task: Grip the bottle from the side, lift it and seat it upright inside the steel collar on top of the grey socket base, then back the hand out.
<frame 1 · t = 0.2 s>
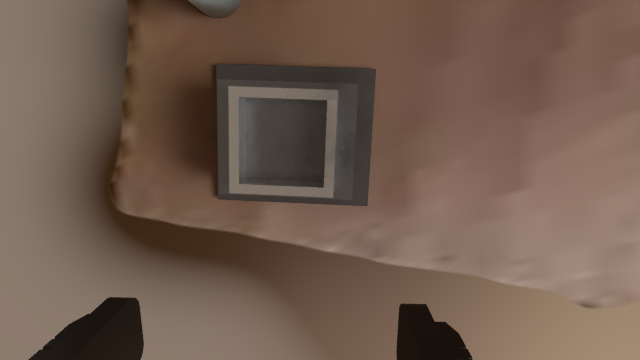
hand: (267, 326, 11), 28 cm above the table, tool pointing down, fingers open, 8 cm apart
grey socket base: (294, 136, 38), on the table
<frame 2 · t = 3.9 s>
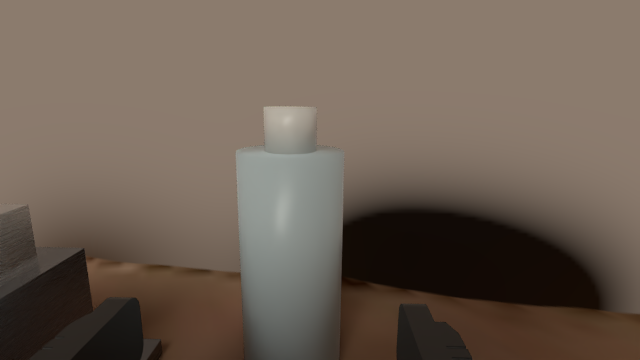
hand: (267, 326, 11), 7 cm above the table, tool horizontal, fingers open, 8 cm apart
bottle: (292, 356, 19), on the table
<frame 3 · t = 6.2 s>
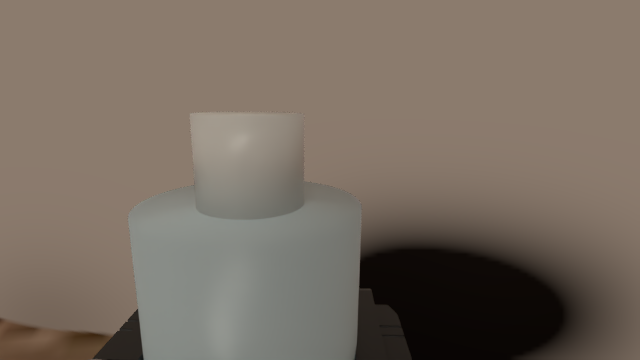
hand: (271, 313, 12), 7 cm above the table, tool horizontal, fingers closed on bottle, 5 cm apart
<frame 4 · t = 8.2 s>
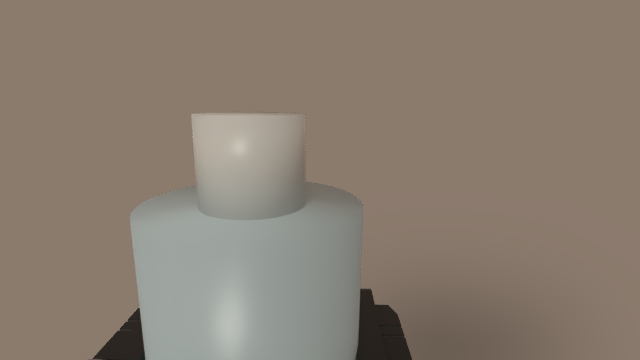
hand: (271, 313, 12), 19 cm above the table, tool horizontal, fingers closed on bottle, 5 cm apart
when the fingers open (15 cm above the table, at t = 10.2 s): bottle drops 1 cm, resting on grey socket base.
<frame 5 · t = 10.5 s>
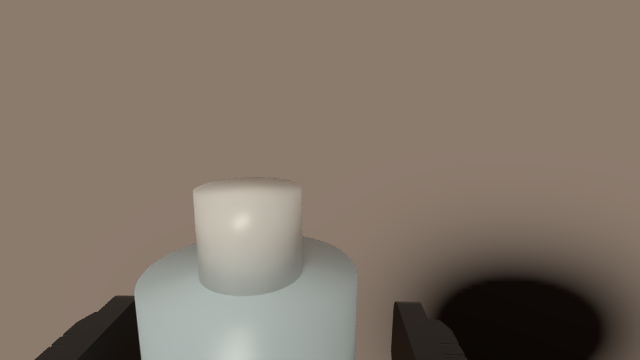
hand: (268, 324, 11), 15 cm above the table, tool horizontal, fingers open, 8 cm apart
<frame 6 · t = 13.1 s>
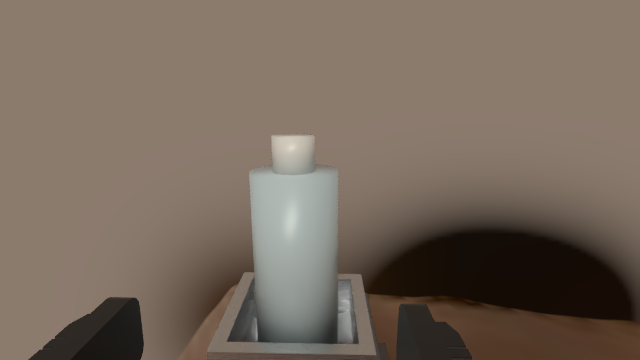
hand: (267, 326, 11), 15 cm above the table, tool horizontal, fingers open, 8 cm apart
bottle: (298, 341, 23), point 7 cm above the table, touching grey socket base
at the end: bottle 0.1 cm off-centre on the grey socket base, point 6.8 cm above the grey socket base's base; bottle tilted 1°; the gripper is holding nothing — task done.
